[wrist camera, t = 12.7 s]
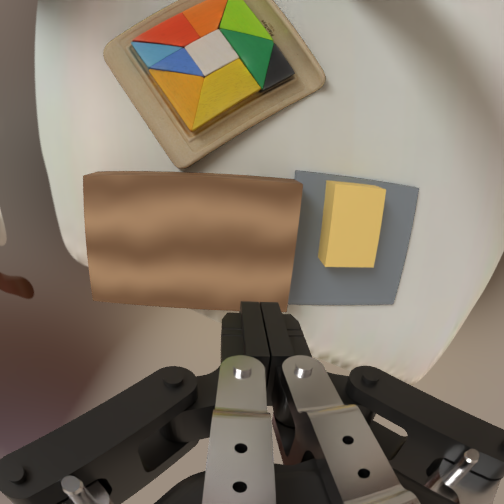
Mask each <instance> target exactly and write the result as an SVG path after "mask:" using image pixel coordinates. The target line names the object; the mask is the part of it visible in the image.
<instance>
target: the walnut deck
mask: <svg viewBox="0 0 504 504" xmlns="http://www.w3.org/2000/svg"><path fill="white" fill-rule="evenodd" d="M302 191H303V184H302V183H300V182H298V181H297V180H295V179H285V178H273V177H261V176H247V175H232V174H214V173H191V172H151V171H106V172H95V173H91V174H88V175H84V176H83V193H84V218H85V233H86V246H87V256H88V266H89V274H90V282H91V290H92V296H93V301H102V302H112V303H124V304H134V305H147V306H161V307H174V308H191V309H209V310H232V311H240V302H241V301H252V302H259V303H260V302H278V303H279V306H280V309H281V312H287V306H288V299H289V292H290V285H291V278H292V271H293V263H294V256H295V248H296V241H297V233H298V225H299V216H300V208H301V199H302Z"/></svg>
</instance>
